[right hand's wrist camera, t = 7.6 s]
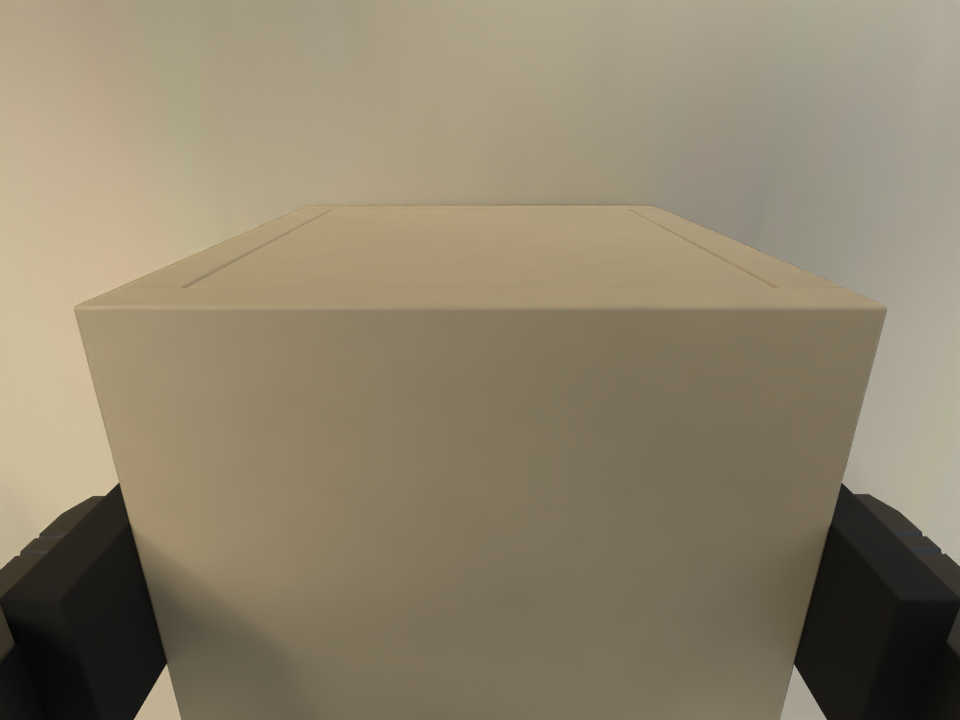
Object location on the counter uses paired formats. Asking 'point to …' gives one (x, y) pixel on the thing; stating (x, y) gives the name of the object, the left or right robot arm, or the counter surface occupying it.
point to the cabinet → (480, 462)
